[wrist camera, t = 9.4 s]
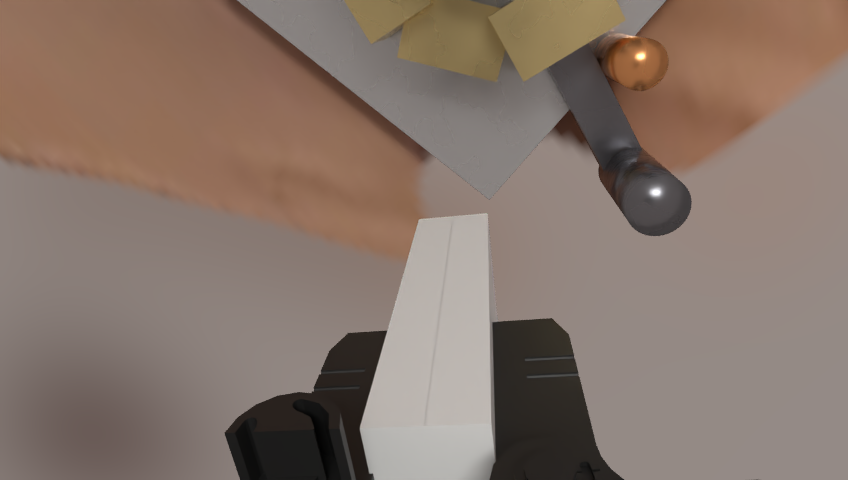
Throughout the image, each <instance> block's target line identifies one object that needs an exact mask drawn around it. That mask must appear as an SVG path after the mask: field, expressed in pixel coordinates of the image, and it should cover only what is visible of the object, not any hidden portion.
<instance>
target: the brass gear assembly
mask: <svg viewBox="0 0 848 480" xmlns="http://www.w3.org/2000/svg"><path fill="white" fill-rule="evenodd" d="M344 1H345V3H346V4H347V6H348V8H349V9H350V11H351V13H352V14H353V16H354V17H355V19H356V21H357V22H358V24H359V25H360V27H361V29H362V30H363V32H364V34H365V35H366V37H367V38H368V40H369V42H370V43H371V44H373V43H376V42H379V41H382V40H385V39H387V38H389V37H390V36H391V35H393V34H394V33H396V32H397V31H399V30H400V29H402V28H403V30H402V35H401V40H400V45H399V50H398V55H397V58H401V59H405V60H409V61H413V62H417V63H421V64H425V65H429V66H433V67H437V68H441V69H445V70H449V71H453V72H457V73H461V74H465V75H469V76H473V77H478V78H482V79H486V80H490V81H494V82H497V79H498V75H499V72H500V68H501V64H502V61H503V57H504V53H505V49H506V51H507V53H508V55H509V57H510V58H511V60H512V62H513V64H514V66H515V67H516V69H517V71H518V73H519V75H520V76H521V78H522V80H523V82H524V81H526V80H528V79H529V78H531V77H533V76H534V75H536V74H538V73H539V72H541V71H543V70H544V69H546V68H548V70H549V71H550V73H551V75H552V77H553V79H554V81H555V83H556V85H557V87H558V88H559V90H560V92H561V94H562V96H563V98H564V100H565V102H566V103H567V105H568V107H569V109H570V111H571V113H572V115H573V117H574V119H575V120H576V122H577V124H578V126H579V128H580V130H581V132H582V134H583V135H584V137H585V139H586V141H587V143H588V145H589V147H590V149H591V150H592V152H593V154H594V156H595V158H596V160H597V162H598V164H599V178H600V180H601V182H602V184H603V185H604V187H605V188H606V190H607V191H608V193H609V194H610V195H611V197H612V198H613V200H614V201H615V203H616V204H617V206H618V207H619V209H620V210H621V211H622V213H623V214H624V216H625V217H626V219H627V220H628V222H629V223H630V224H631V226H632V227H633V228H634V229H635V230H637V231H638V232H640V233H642V234H645V235H649V236H660V235H665V234H668V233H670V232H672V231H674V230H676V229H677V228H679V227H680V226H681V225H682V224H683V223H684V221H685V220H686V219H687V217H688V215H689V213H690V210H691V196H690V193H689V191H688V189H687V188H686V187H685V185H684V184H683V183H682V182H681V181H679V180H678V179H677V178H676V177H675V176H674V175H672V174H671V173H670V172H669V171H668V170H667V169H666V168H664V167H663V166H662V165H661V164H660V163H659V162H658V161H656V160H655V159H654V158H653V157H652V156H651V155H649V154H648V153H647V152H646V151H645V150H644V149H642V148H641V147H640V145H639V143H638V141H637V139H636V137H635V135H634V133H633V131H632V129H631V127H630V125H629V123H628V121H627V119H626V117H625V115H624V113H623V111H622V109H621V107H620V105H619V103H618V101H617V99H616V97H615V95H614V93H613V91H612V89H611V87H610V85H609V83H608V81H607V79H606V77H605V75H604V73H603V71H602V69H601V67H600V65H599V63H598V61H597V59H596V57H595V55H594V53H593V51H592V49H591V47H590V45H589V42H590V41H592V40H594V39H595V38H597V37H599V36H600V35H602V34H604V33H605V32H607V31H609V30H610V29H612V28H614V27H615V26H617V25H619V24H620V23H622V22H624V21H625V20H626V19H625V17H624V15H623V13H622V11H621V9H620V7H619V4H618V2H617V0H511V1H510V2H508V3H507V4H505V5H504V6H502V7H501V8H498V7H494V6H489V5H485V4H481V3H477V2H473V1H469V0H344Z"/></svg>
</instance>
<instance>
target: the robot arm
mask: <svg viewBox="0 0 848 480" xmlns="http://www.w3.org/2000/svg"><path fill="white" fill-rule="evenodd" d="M225 436H226V439H227V442H228V445H229V448H230V451H231V454H232V457H233V460H234V462H235V466H236V468H237V471H238V475H239V477H240V480H624V479H622V478H621V477H620V476H619V475H618V474H616V473H615V472H614V471H613V470H611V468H610V467H609V466H608V465H607V464H606V462H605V461H604V460H603V458H602V457H601V455H600V453H599V450H598V448H597V446H596V442H595V438H594V434H593V430H592V426H591V422H590V418H589V414H588V410H587V406H586V402H585V398H584V394H583V390H582V386H581V382H580V378H579V376H578V370H577V366H576V362H575V359H574V354H573V349H572V345H571V342H570V338H569V334H568V333H566V331H565V330H563V329H562V328H561V327H560V326H559V325H558V324H557V323H556V322H555V321H554V320H553V319H552V318H550V319H534V320H518V321H503V322H498V318H497V307H496V297H495V286H494V276H493V265H492V254H491V244H490V233H489V222H488V213H484V214H473V215H461V216H451V217H439V218H428V219H419V221H418V225H417V228H416V232H415V235H414V239H413V242H412V246H411V250H410V253H409V257H408V260H407V264H406V267H405V271H404V275H403V278H402V281H401V285H400V288H399V292H398V295H397V299H396V302H395V306H394V309H393V313H392V316H391V320H390V323H389V327H388V330H387V331H374V332H358V333H348V334H347V335H346V336H345V337H344V338H343V339H341V341H339V342H338V343H337V344H336V345H335V346H334V347H333V348H332V349H331V350H330V351H329V353H328V356H327V358H326V360H325V363H324V365H323V367H322V370H321V375H319V377H318V379H317V381H316V384H315V386H314V392H312V393H302V392H297V393H292V394H286V395H280V396H276V397H274V398H271V399H269V400H266V401H264V402H262V403H259V404H256V405H255V406H254V407H252V408H251V409H249V410H248V411H246V412H245V413H243V414H242V415H241V416H239V417H238V418H237V419H236V420H235V421H234V423H233V424H232V425H231V426H230V427H229V428H228V430H227V431H226V432H225Z"/></svg>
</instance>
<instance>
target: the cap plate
mask: <svg viewBox="0 0 848 480" xmlns="http://www.w3.org/2000/svg"><path fill="white" fill-rule="evenodd" d="M237 1H239V2H240V3H241V4H242V5H244V6H245V7H246V8H247V9H249V10H250V11H251V12H252V13H254V14H255V15H256V16H257V17H259V18H260V19H261V20H263V21H264V22H265V23H266V24H268V25H269V26H270V27H271V28H273V29H274V30H275V31H276V32H278V33H279V34H280V35H281V36H283V37H284V38H285V39H287V40H288V41H289V42H290V43H292V44H293V45H294V46H295V47H297V48H298V49H299V50H300V51H302V52H303V53H304V54H306V55H307V56H308V57H309V58H311V59H312V60H313V61H314V62H316V63H317V64H318V65H319V66H321V67H322V68H323V69H324V70H326V71H327V72H328V73H330V74H331V75H332V76H333V77H335V78H336V79H337V80H338V81H340V82H341V83H342V84H343V85H345V86H346V87H347V88H348V89H350V90H351V91H352V92H354V93H355V94H356V95H357V96H359V97H360V98H361V99H362V100H364V101H365V102H366V103H367V104H369V105H370V106H371V107H373V108H374V109H375V110H376V111H378V112H379V113H380V114H381V115H383V116H384V117H385V118H386V119H388V120H389V121H390V122H391V123H393V124H394V125H395V126H397V127H398V128H399V129H400V130H402V131H403V132H404V133H405V134H407V135H408V136H409V137H410V138H412V139H413V140H414V141H415V142H417V143H418V144H419V145H421V146H422V147H423V148H424V149H426V150H427V151H428V152H429V153H431V154H432V155H433V156H434V157H436V158H437V159H438V160H440V161H441V162H442V163H443V164H445V165H446V166H447V167H448V168H450V169H451V170H452V171H454V172H455V173H456V174H457V175H458V176H460V177H461V178H462V179H464V180H465V181H466V182H467V183H469V184H470V185H471V186H472V187H474V188H475V189H476V190H477V191H479V192H480V193H481V194H482V195H484V196H485V197H486V198H488V199H491V197H492V196H493V195H494V194H495V193H496V192H497V191H498V190H499V188H500V187H501V186H502V185H503V184H504V183H505V182H506V181H507V179H508V178H509V177H510V176H511V175H512V174H513V173H514V171H515V170H516V169H517V168H518V167H519V166H520V165H521V163H522V162H523V161H524V160H525V159H526V158H527V157H528V156H529V155H530V153H531V152H532V151H533V150H534V149H535V148H536V146H538V144H539V143H540V142H541V141H542V140H543V139H544V138H545V136H546V135H547V134H548V133H549V132H550V131H551V130H552V129H553V127H554V126H555V125H556V124H557V123H558V122H559V121H560V120H561V118H562V117H563V116H564V115H565V114H566V113H567V112H568V111H569V107H568V105H567V103H566V102H565V100H564V98H563V96H562V94H561V92H560V90H559V88H558V87H557V85H556V83H555V81H554V79H553V77H552V75H551V73H550V71H549V70H548V68H546V69H544V70H543V71H541V72H539V73H538V74H536V75H534V76H533V77H531V78H529V79H528V80H526V81H524V82H523V80H522V78H521V76H520V75H519V73H518V71H517V69H516V67H515V66H514V64H513V62H512V60H511V58H510V57H509V55H508V53H507V51H506V49H505V53H504V57H503V61H502V64H501V68H500V72H499V75H498V79H497V82H494V81H490V80H486V79H482V78H478V77H473V76H469V75H465V74H461V73H457V72H453V71H449V70H445V69H441V68H437V67H433V66H429V65H425V64H421V63H417V62H413V61H409V60H405V59H401V58H397V55H398V50H399V45H400V40H401V35H402V30H403V28H402V29H400V30H399V31H397V32H396V33H394V34H393V35H391V36H390V37H389V38H387V39H385V40H382V41H379V42H376V43H373V44H371V43H370V42H369V40H368V38H367V37H366V35H365V34H364V32H363V30H362V29H361V27H360V25H359V24H358V22H357V21H356V19H355V17H354V16H353V14H352V13H351V11H350V9H349V8H348V6H347V4H346V3H345V1H344V0H237ZM469 1H473V2H477V3H481V4H485V5H489V6H494V7H498V8H501V7H502V6H504V5H505V4H507V3H508V2H510V1H511V0H469ZM665 1H666V0H617V2H618V4H619V7H620V9H621V11H622V13H623V15H624V17H625V19H626V20H625V21H624V22H622V23H620V24H619V25H617V26H615V27H614V28H612V29H610V30H609V31H607V32H605V33H604V34H602V35H600V36H599V37H597V38H595V39H594V40H592V41H590V42H589V45H590V47H591V49H592V51H593V53H594V55H595V57H596V59H597V61H598V63H599V65H600V67H601V69H602V71H603V73H604V75H605V76H607V77H609V78H610V79H612V80H614V81H616V82H618V83H620V84H621V85H623V86H625V87H627V88H629V89H631V90H636V91H642V90H647V89H650V88H652V87H654V86H655V85H656V84H658V83H659V82H660V81H661V80H662V78H663V77H664V75H665V73H666V71H667V68H668V55H667V52H666V50H665V48H664V47H663V46H662V45H661V44H660V43H659V42H657V41H655V40H653V39H648V38H642V37H637V36H635V35H636V34H637V33H638V31H639V30H640V29H641V28H642V27H643V26H644V25H645V24H646V22H647V21H648V20H649V19H650V18H651V17H652V16H653V14H654V13H655V12H656V11H657V10H658V9H659V8H660V7H661V5H662V4H663V3H664V2H665Z"/></svg>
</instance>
